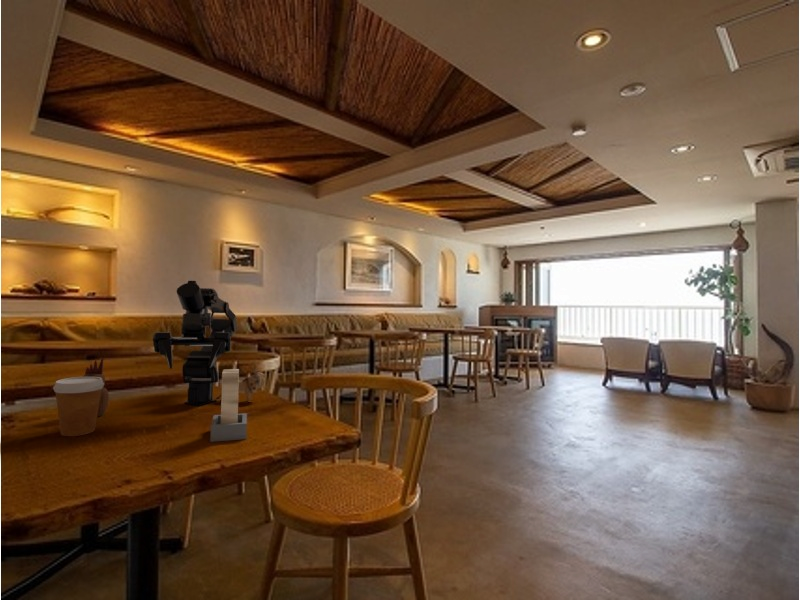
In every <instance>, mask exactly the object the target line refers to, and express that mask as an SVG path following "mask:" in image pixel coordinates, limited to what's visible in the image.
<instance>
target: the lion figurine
mask: <svg viewBox="0 0 800 600" xmlns="http://www.w3.org/2000/svg"><path fill="white" fill-rule="evenodd" d="M265 376H266V375H265V374H264V373H262V372H258V371H257V372H254V373H253V374H251V375H250V376H247V377H246V378H245V379H243V380H239V388H238V394H240V393H246V394H245V395H246V402H247V401H250V399H252V395H253V394H254V393H257V392H258V391H259V390H260V389H262V388H263V387H264V386H265V384H266V379H265V378H266V377H265ZM221 397H222V391H221V393H220V395H219V396H217V397H216V398H215V399H216V400H219V399H221Z"/></svg>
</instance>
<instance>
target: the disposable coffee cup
mask: <svg viewBox="0 0 800 600" xmlns="http://www.w3.org/2000/svg"><path fill="white" fill-rule="evenodd" d="M104 386H105V382H104V383H103V380H102V378H100V377H83V376H77V377H67V378H62V379H59V380H56V381H55V384H54V386H52V390H53V391H54V392H55V398H56V406H57V407H56V408H57V415H58V422H59V424H58V425H59V430H60V431H59V432H60V435H61V436H63V437H75V436H83V435H87V434H91V433H93V432H95V430H96V423H97V419H98V417H97V414H98V408H99V402H100V397H101V391H102V388H103V387H104Z"/></svg>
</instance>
